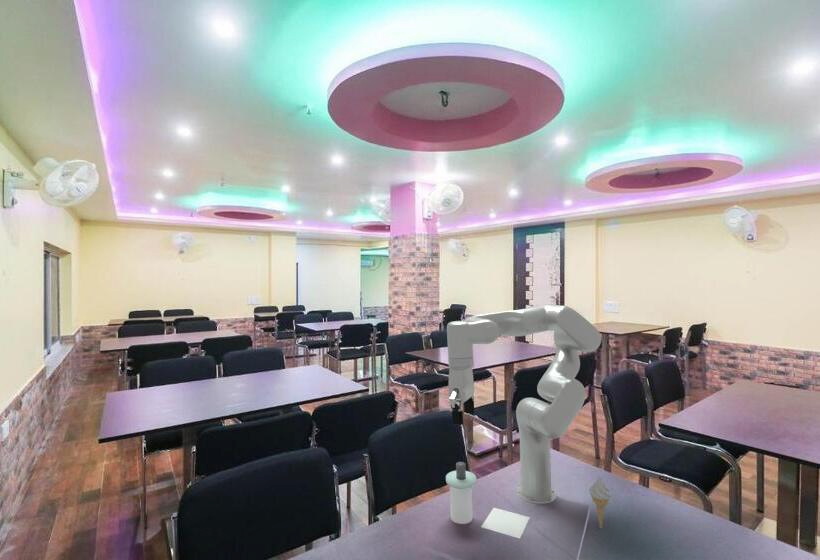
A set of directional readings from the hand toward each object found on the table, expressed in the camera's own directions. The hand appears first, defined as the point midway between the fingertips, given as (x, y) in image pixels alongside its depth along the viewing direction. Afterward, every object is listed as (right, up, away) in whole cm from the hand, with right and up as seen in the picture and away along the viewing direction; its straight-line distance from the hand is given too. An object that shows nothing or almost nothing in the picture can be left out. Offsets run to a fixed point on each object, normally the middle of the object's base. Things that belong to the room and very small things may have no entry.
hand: (463, 418), depth 123 cm
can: (-1, -30, -3) cm, 30 cm away
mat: (+11, -29, -6) cm, 32 cm away
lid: (-1, -17, -3) cm, 18 cm away
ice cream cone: (+38, -29, -8) cm, 48 cm away
